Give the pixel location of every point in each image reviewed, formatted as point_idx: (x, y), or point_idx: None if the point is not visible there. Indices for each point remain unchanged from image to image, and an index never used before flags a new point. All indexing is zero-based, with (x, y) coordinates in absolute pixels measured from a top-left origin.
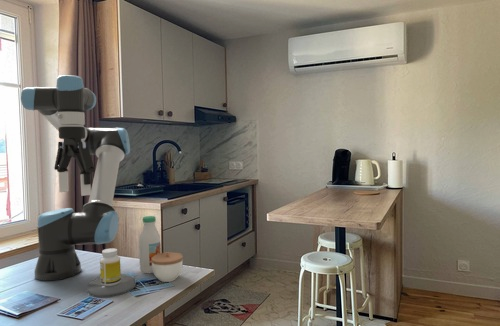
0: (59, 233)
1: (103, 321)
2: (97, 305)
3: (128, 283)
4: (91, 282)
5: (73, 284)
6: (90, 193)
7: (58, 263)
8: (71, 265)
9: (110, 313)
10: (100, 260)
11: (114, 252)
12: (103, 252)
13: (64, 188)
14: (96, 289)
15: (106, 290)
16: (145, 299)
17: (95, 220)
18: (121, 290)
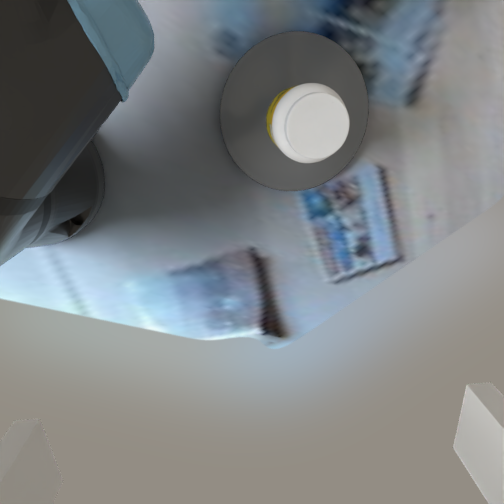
0: (14, 238)
1: (449, 235)
2: (367, 206)
3: (345, 82)
4: (239, 159)
5: (175, 183)
6: (499, 395)
7: (73, 206)
8: (79, 159)
9: (432, 206)
10: (299, 161)
11: (348, 121)
12: (318, 158)
13: (34, 487)
14: (304, 176)
15: (334, 160)
16: (451, 99)
17: (73, 81)
18: (364, 125)
